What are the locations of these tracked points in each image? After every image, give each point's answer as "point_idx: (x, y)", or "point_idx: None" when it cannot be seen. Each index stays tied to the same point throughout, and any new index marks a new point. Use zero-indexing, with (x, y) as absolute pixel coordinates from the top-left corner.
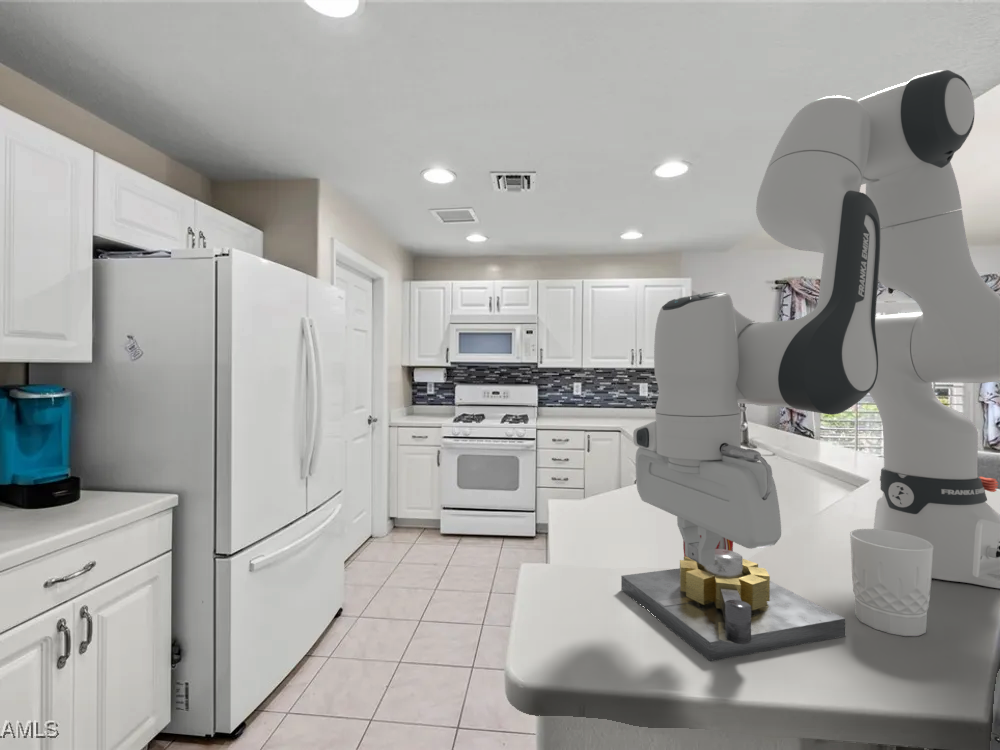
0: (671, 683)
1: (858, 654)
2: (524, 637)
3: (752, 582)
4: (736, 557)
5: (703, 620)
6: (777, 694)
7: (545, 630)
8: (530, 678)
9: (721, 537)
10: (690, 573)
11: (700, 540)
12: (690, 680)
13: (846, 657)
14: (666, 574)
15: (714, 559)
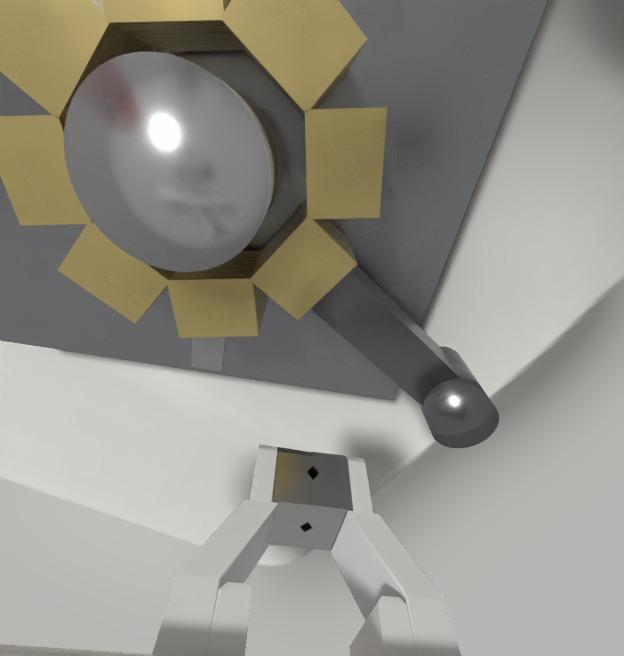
0: (388, 456)
1: (611, 11)
2: (188, 535)
3: (367, 200)
4: (227, 138)
5: (319, 345)
6: (511, 356)
7: (177, 510)
8: (284, 560)
9: (434, 587)
10: (198, 336)
11: (361, 607)
12: (399, 433)
13: (585, 74)
14: (3, 204)
15: (366, 470)
